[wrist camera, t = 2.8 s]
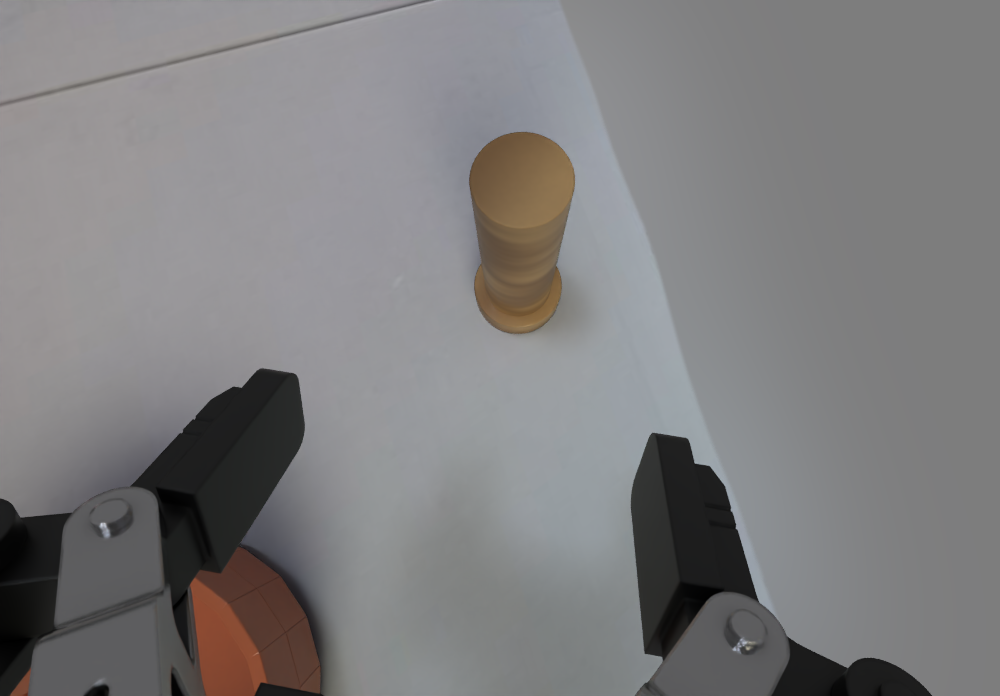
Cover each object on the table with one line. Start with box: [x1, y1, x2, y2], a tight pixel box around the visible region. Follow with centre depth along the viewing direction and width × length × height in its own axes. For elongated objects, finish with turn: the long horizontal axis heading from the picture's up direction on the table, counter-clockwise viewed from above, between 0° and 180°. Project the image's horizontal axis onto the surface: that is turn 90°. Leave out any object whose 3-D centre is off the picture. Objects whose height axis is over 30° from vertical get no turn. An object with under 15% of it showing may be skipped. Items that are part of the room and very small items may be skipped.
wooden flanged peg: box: [469, 132, 575, 334], centre depth 25 cm, size 5×5×13 cm
